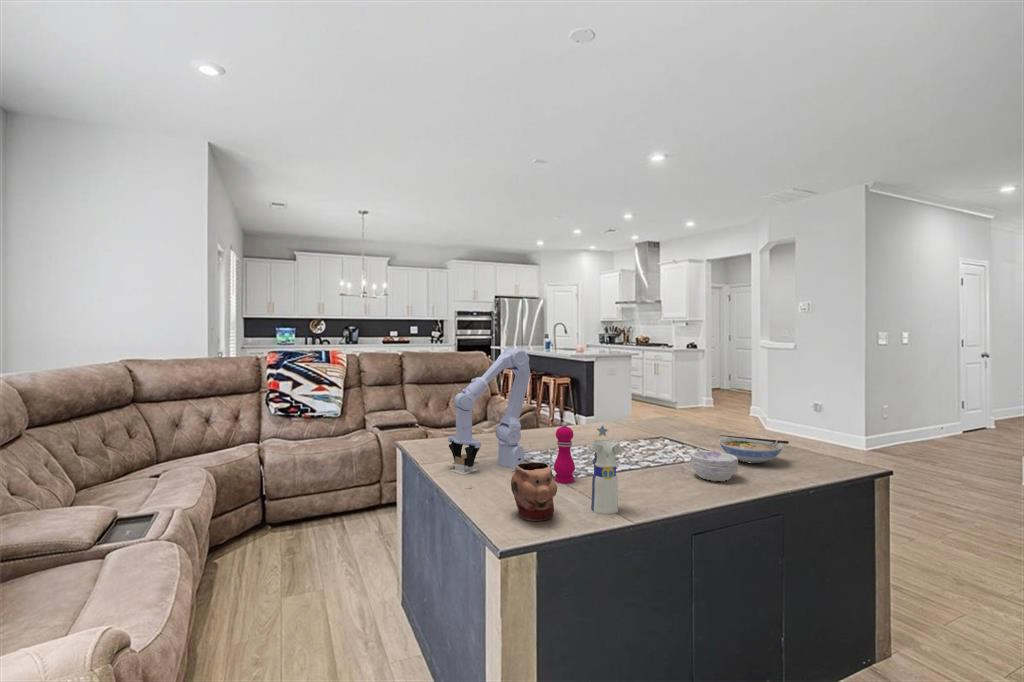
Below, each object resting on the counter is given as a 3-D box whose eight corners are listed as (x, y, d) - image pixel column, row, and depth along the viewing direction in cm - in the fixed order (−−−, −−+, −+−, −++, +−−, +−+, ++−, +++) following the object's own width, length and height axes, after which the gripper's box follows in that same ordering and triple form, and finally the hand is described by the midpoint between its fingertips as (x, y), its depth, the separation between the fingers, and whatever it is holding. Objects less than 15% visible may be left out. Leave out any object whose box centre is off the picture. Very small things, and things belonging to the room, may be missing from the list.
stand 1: (479, 466, 188) (479, 462, 188) (465, 470, 182) (465, 466, 182) (465, 462, 192) (465, 459, 192) (452, 466, 187) (452, 463, 187)
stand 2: (477, 473, 178) (477, 469, 178) (464, 477, 173) (464, 474, 173) (464, 469, 183) (464, 466, 183) (450, 473, 177) (450, 470, 177)
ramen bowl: (709, 463, 193) (709, 442, 193) (722, 451, 212) (722, 431, 211) (782, 474, 178) (782, 451, 178) (789, 460, 197) (789, 439, 197)
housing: (473, 469, 178) (473, 456, 178) (464, 472, 175) (464, 458, 175) (464, 467, 181) (464, 453, 181) (455, 470, 178) (455, 456, 177)
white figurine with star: (624, 514, 139) (625, 425, 139) (594, 515, 139) (594, 425, 138) (616, 503, 148) (616, 419, 147) (587, 504, 147) (588, 419, 146)
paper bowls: (718, 470, 183) (718, 448, 183) (747, 483, 168) (747, 459, 168) (681, 473, 179) (681, 451, 179) (707, 486, 164) (708, 462, 164)
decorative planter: (499, 504, 147) (499, 457, 146) (537, 499, 151) (537, 453, 151) (527, 530, 128) (528, 476, 128) (569, 523, 133) (569, 471, 132)
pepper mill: (576, 478, 172) (577, 420, 172) (572, 484, 165) (572, 424, 165) (556, 476, 175) (556, 419, 174) (551, 482, 168) (551, 423, 167)
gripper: (441, 425, 179) (441, 463, 179) (470, 431, 170) (470, 471, 170) (455, 423, 184) (455, 459, 185) (484, 428, 175) (484, 466, 176)
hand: (464, 464), depth 178 cm, fingers open, 6 cm apart
